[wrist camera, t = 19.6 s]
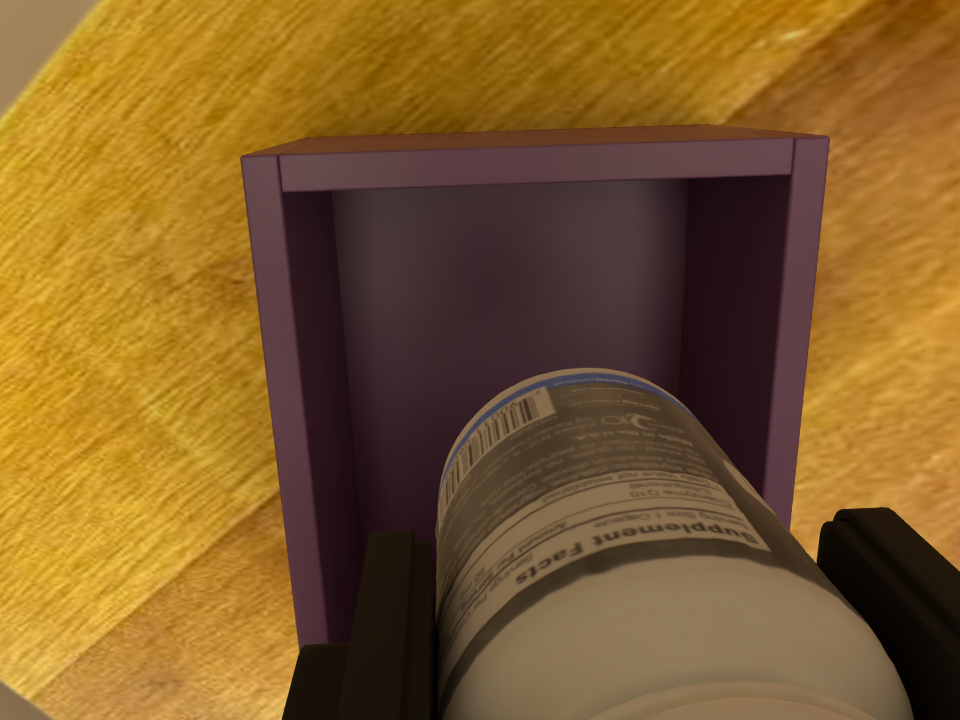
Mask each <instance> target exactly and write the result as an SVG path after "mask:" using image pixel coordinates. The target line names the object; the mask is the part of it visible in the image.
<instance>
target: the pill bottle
mask: <svg viewBox="0 0 960 720" xmlns="http://www.w3.org/2000/svg"><path fill="white" fill-rule="evenodd" d="M435 535H436V539H437V575H436V579H437V610H436V613H437V617H436V679H435V720H914V716H913V712H912V709H911V705H910V701H909V698H908V695H907V693H906V690H905V688H904V686H903V684H902V681H901V679H900V677H899V675H898V673H897V671H896V669H895V666H894V664H893V663H892V661H891V660H890V658H889V657H888V656H887V654H886V652H885V650H884V648H883V646H882V645H881V643H880V641H879V640H878V638H877V637H876V635H875V634H874V632H873V631H872V629H871V628H870V627H869V625H868V624H867V623H866V621H865V620H864V619H863V617H862V616H861V615H860V614H859V613H858V612H857V611H856V610H855V609H854V608H853V606H852V605H851V604H850V603H849V602H848V601H847V600H846V599H845V598H844V597H843V595H842V594H841V593H840V591H839V590H838V589H837V588H836V587H835V586H834V585H833V584H832V583H831V582H830V581H829V580H828V578H827V577H826V575H825V574H824V573H823V572H822V570H821V569H820V568H819V567H818V565H817V564H816V563H815V562H814V560H813V559H812V558H811V557H810V556H809V555H808V554H807V553H806V551H805V550H804V549H803V547H802V546H801V545H800V543H799V542H798V541H797V540H796V539H795V537H794V536H793V535H792V534H791V533H790V532H789V531H788V530H787V529H786V528H785V526H784V525H783V524H782V523H781V522H780V520H779V518H778V517H777V515H776V514H775V513H774V512H773V510H772V509H771V508H770V507H769V506H768V505H767V504H766V502H765V501H764V500H763V499H762V498H761V497H760V496H759V495H758V493H757V492H756V491H755V490H754V488H753V487H752V486H751V485H750V483H749V482H748V481H747V480H746V479H745V478H744V476H743V475H742V474H741V473H740V472H739V471H738V469H737V468H736V467H735V466H734V464H733V463H732V462H731V461H730V459H729V458H728V457H727V455H726V454H725V453H724V452H723V450H722V449H721V448H720V447H719V446H718V444H717V443H716V442H715V441H714V439H713V438H712V437H711V436H710V434H709V433H708V432H707V431H706V429H705V428H704V427H703V426H702V425H701V423H700V422H699V421H698V420H697V419H696V417H695V416H694V415H693V414H692V413H691V412H690V411H689V410H688V409H687V408H686V407H685V406H684V405H683V404H682V403H681V402H680V401H679V400H677V399H676V398H675V397H674V396H672V395H671V394H669V393H668V392H666V391H665V390H663V389H662V388H660V387H658V386H657V385H655V384H653V383H651V382H649V381H648V380H645V379H643V378H640V377H638V376H635V375H632V374H629V373H626V372H622V371H616V370H611V369H603V368H575V369H563V370H558V371H553V372H549V373H545V374H541V375H537V376H534V377H532V378H529V379H526V380H524V381H522V382H520V383H518V384H516V385H514V386H512V387H510V388H508V389H506V390H504V391H503V392H501V393H500V394H498V395H497V396H496V397H494V398H493V399H492V400H491V401H490V402H488V403H487V404H486V405H485V406H484V407H483V408H482V409H481V410H480V411H479V412H478V413H477V414H476V415H475V416H474V417H473V418H472V419H471V420H470V421H469V423H468V424H467V425H466V426H465V428H464V429H463V430H462V432H461V433H460V435H459V436H458V438H457V439H456V441H455V443H454V445H453V447H452V449H451V451H450V453H449V455H448V458H447V460H446V463H445V467H444V470H443V474H442V478H441V484H440V489H439V497H438V511H437V522H436V528H435Z"/></svg>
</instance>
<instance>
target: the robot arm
mask: <svg viewBox="0 0 960 720" xmlns="http://www.w3.org/2000/svg"><path fill="white" fill-rule="evenodd" d="M817 565H818V567H819V568H820V569H821V570H822V572H823V573H824V574H825V575H826V577H827V578H828V580H829V581H830V582H831V583H832V584H833V585H834V586H835V587H836V588H837V589H838V590H839V591H840V593H841V594H842V595H843V597H844V598H845V599H846V600H847V601H848V602H849V603H850V604H851V605H852V606H853V608H854V609H855V610H856V611H857V612H858V613H859V614H860V615H861V616H862V617H863V619H864V620H865V621H866V623H867V624H868V625H869V627H870V628H871V629H872V631H873V632H874V634H875V635H876V637H877V638H878V640H879V641H880V643H881V645H882V646H883V648H884V650H885V652H886V654H887V656H888V657H889V658H890V660H891V661H892V663H893V664H894V666H895V669H896V671H897V673H898V675H899V677H900V679H901V681H902V684H903V686H904V688H905V690H906V693H907V695H908V698H909V701H910V705H911V709H912V712H913V716H914V720H960V572H959V571H958V570H957V569H956V568H955V567H954V566H953V565H952V564H951V563H950V562H949V561H947V560H946V559H945V558H944V557H943V556H942V555H941V554H940V553H939V552H938V551H937V550H935V549H934V548H933V547H932V546H931V545H930V544H929V543H928V542H927V541H926V540H925V539H923V538H922V537H921V536H920V535H919V534H918V533H917V532H916V531H915V530H914V529H913V528H911V527H910V526H909V525H908V524H907V523H906V522H905V521H904V520H903V519H902V518H901V517H899V516H898V515H897V514H896V513H895V512H894V511H892V510H891V509H889V508H885V507H880V508H859V509H841V510H839V511H838V512H837V513H836V515H835V516H834V519H833V521H828V522H825V523H824V524H823V526H822V528H821V532H820V538H819V547H818V555H817ZM435 679H436V619H435V601H434V583H433V565H432V548H431V541H420V542H415V537H414V531H413V530H404V531H384V532H370V533H369V535H368V540H367V546H366V552H365V558H364V563H363V569H362V575H361V581H360V587H359V592H358V598H357V604H356V610H355V616H354V621H353V627H352V633H351V639H350V642H345V643H326V644H307V645H304V646H303V647H302V648H301V650H300V653H299V656H298V659H297V663H296V667H295V671H294V674H293V678H292V682H291V686H290V690H289V694H288V697H287V701H286V705H285V709H284V713H283V717H282V720H435Z"/></svg>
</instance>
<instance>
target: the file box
mask: <svg viewBox="0 0 960 720" xmlns="http://www.w3.org/2000/svg"><path fill="white" fill-rule="evenodd" d="M829 144H830V138H829V137H828V136H824V135H814V134H803V133H793V132H782V131H772V130H761V129H751V128H740V127H730V126H719V125H710V124H704V125H673V126H643V127H612V128H581V129H551V130H520V131H490V132H459V133H428V134H398V135H367V136H337V137H307V138H303V139H299V140H296V141H292V142H289V143H285V144H282V145H278V146H274V147H271V148H267V149H264V150H260V151H256V152H253V153H249V154H246V155H243V156H241V158H240V160H241V168H242V177H243V185H244V193H245V202H246V210H247V218H248V227H249V235H250V243H251V252H252V260H253V268H254V277H255V285H256V293H257V302H258V310H259V318H260V327H261V335H262V343H263V352H264V360H265V369H266V377H267V385H268V394H269V402H270V410H271V419H272V427H273V435H274V444H275V452H276V460H277V469H278V477H279V485H280V494H281V502H282V510H283V519H284V527H285V535H286V544H287V552H288V560H289V569H290V577H291V585H292V594H293V602H294V610H295V619H296V627H297V635H298V644H299V652H300V650H301V648H302V647H303V646H304V645H307V644H326V643H345V642H350V639H351V633H352V627H353V621H354V616H355V610H356V604H357V598H358V592H359V587H360V581H361V575H362V569H363V563H364V558H365V552H366V546H367V540H368V535H369V533H370V532H384V531H404V530H413V531H414V537H415V542H420V541H431V548H432V565H433V583H434V601H435V619H436V617H437V613H436V610H437V579H436V575H437V539H436V535H435V528H436V522H437V511H438V497H439V489H440V484H441V478H442V474H443V470H444V467H445V463H446V460H447V458H448V455H449V453H450V451H451V449H452V447H453V445H454V443H455V441H456V439H457V438H458V436H459V435H460V433H461V432H462V430H463V429H464V428H465V426H466V425H467V424H468V423H469V421H470V420H471V419H472V418H473V417H474V416H475V415H476V414H477V413H478V412H479V411H480V410H481V409H482V408H483V407H484V406H485V405H486V404H487V403H488V402H490V401H491V400H492V399H493V398H494V397H496V396H497V395H498V394H500V393H501V392H503V391H504V390H506V389H508V388H510V387H512V386H514V385H516V384H518V383H520V382H522V381H524V380H526V379H529V378H532V377H534V376H537V375H541V374H545V373H549V372H553V371H558V370H563V369H575V368H603V369H611V370H616V371H622V372H626V373H629V374H632V375H635V376H638V377H640V378H643V379H645V380H648V381H649V382H651V383H653V384H655V385H657V386H658V387H660V388H662V389H663V390H665V391H666V392H668V393H669V394H671V395H672V396H674V397H675V398H676V399H677V400H679V401H680V402H681V403H682V404H683V405H684V406H685V407H686V408H687V409H688V410H689V411H690V412H691V413H692V414H693V415H694V416H695V417H696V419H697V420H698V421H699V422H700V423H701V425H702V426H703V427H704V428H705V429H706V431H707V432H708V433H709V434H710V436H711V437H712V438H713V439H714V441H715V442H716V443H717V444H718V446H719V447H720V448H721V449H722V450H723V452H724V453H725V454H726V455H727V457H728V458H729V459H730V461H731V462H732V463H733V464H734V466H735V467H736V468H737V469H738V471H739V472H740V473H741V474H742V475H743V476H744V478H745V479H746V480H747V481H748V482H749V483H750V485H751V486H752V487H753V488H754V490H755V491H756V492H757V493H758V495H759V496H760V497H761V498H762V499H763V500H764V501H765V502H766V504H767V505H768V506H769V507H770V508H771V509H772V510H773V512H774V513H775V514H776V515H777V517H778V518H779V520H780V522H781V523H782V524H783V525H784V526H785V528H786V529H787V530H788V531H789V532H790V522H791V512H792V503H793V493H794V483H795V474H796V464H797V454H798V444H799V435H800V425H801V415H802V406H803V396H804V386H805V377H806V367H807V357H808V347H809V338H810V328H811V318H812V309H813V299H814V289H815V279H816V270H817V260H818V250H819V241H820V231H821V221H822V212H823V202H824V192H825V182H826V173H827V163H828V153H829Z"/></svg>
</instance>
